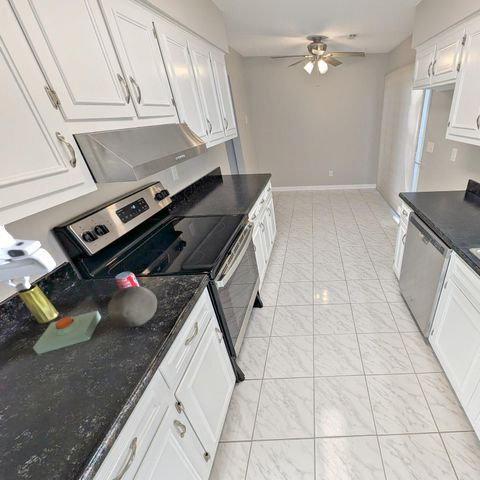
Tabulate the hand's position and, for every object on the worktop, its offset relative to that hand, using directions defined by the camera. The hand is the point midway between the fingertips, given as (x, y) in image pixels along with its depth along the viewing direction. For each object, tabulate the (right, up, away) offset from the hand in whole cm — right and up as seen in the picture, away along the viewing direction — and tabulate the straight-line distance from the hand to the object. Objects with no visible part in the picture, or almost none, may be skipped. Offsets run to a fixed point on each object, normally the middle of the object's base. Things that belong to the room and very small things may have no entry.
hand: (23, 288), depth 81 cm
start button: (+6, -14, +7) cm, 17 cm away
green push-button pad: (+7, -18, +9) cm, 21 cm away
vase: (-11, -15, +18) cm, 26 cm away
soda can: (+17, -9, +25) cm, 32 cm away
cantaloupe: (+30, -15, +12) cm, 35 cm away
